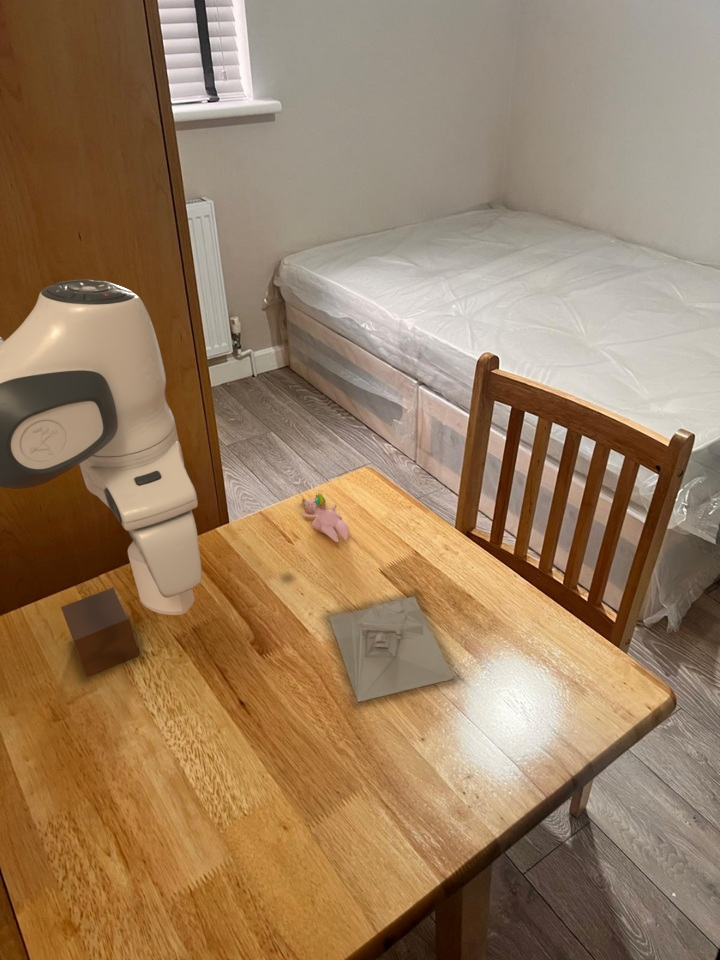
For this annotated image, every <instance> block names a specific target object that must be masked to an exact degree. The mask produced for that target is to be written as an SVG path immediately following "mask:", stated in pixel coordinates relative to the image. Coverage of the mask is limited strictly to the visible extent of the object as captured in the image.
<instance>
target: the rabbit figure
mask: <svg viewBox="0 0 720 960" xmlns="http://www.w3.org/2000/svg"><path fill="white" fill-rule="evenodd" d="M300 504H301V506H303V509H304V511H305V512H306V513H302V512H301V515H300V516H301V517H302V518H303V517H304V518H310V519H314V520H313V521H312V523H311V527H312V528H313V529H315V530H316V531H318V532H320V533H322V534H325V535H326V536H327V537H329V538H330V539H331V540H332V541H334V542H335V543H340V539H339V535H340V536H341V537H342V538H343V539H344V540H345V541H348V539H349V535H350V528H349V525H348V523H347V522H345V520H343V517H342V516H341V515H340V514H338V513H337V512H336V511H334V510H335V509H336V508H337V504H333V505H332V507H331V508H330V509H326V499H325V497H324V496H323V494H321V493H320V492H315V498H314V499H313V500H307V499H306V498H304V496H302V500H301V503H300ZM337 533H338V534H339V535H338V534H337Z"/></svg>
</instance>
